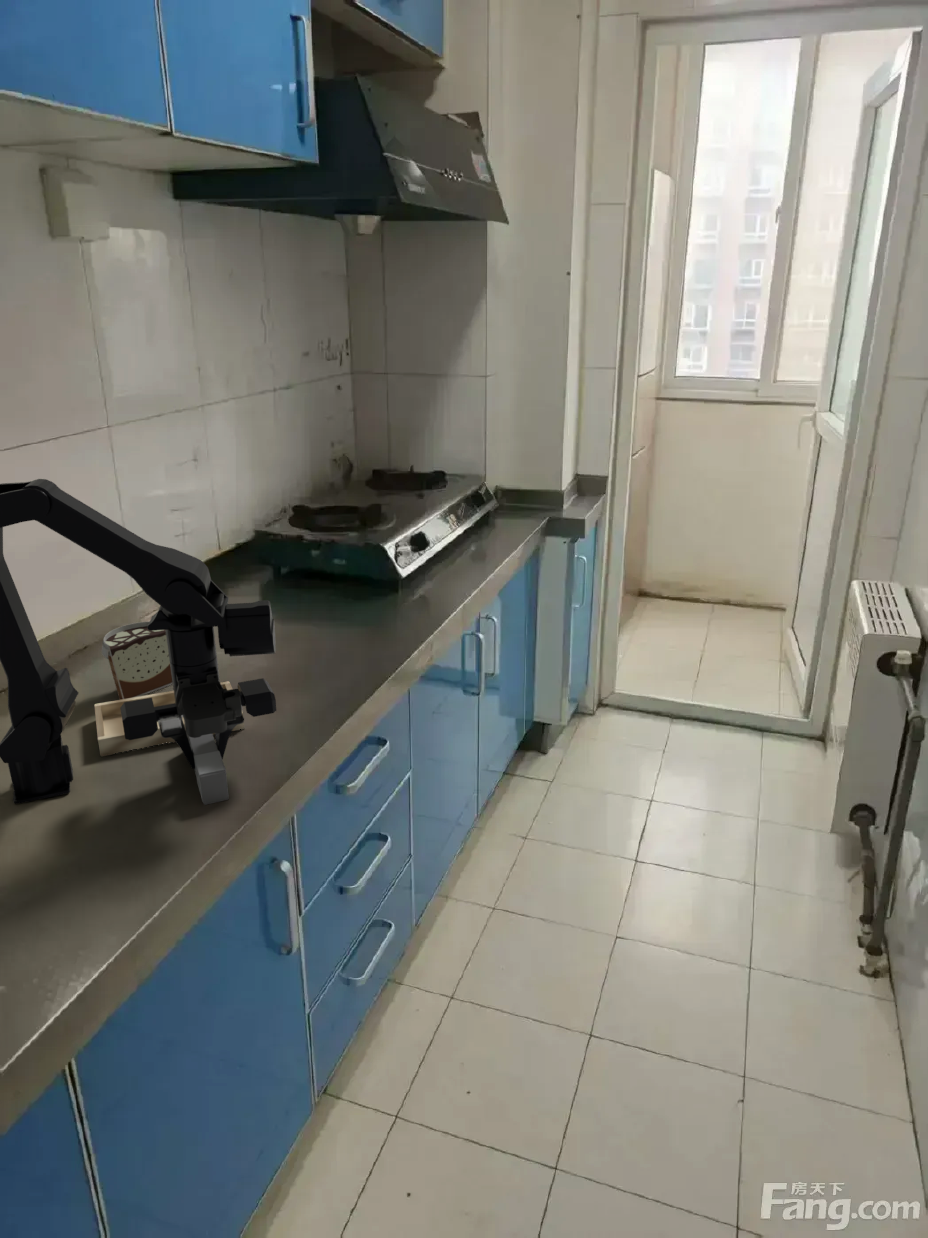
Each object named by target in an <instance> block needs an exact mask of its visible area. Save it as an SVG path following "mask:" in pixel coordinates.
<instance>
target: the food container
mask: <svg viewBox="0 0 928 1238" xmlns="http://www.w3.org/2000/svg"><path fill="white" fill-rule="evenodd" d="M149 622H150V620H149V621H138V622H132V623H129V624H124V625H122V626H119V627H117V628H114V629H111V630H110V631H109V632H107V633H106V634H105V635H104V637H103V640H102V643H101V645H102V646H101V655H102V656H103V657H104V658H105V659H106V660H108V663H109V666H110V670H111V674H112V676H113V682H114V685H115V689H116V692H117V694H118V698H119V699H118V700H122V699H128V698H133V697H139V696H145V695H149V694H152V693H153V692H156V691H159V690H161V689H163V688H167V687H168V686H171V685H172V686H173V682H172V675H171V667H170V660H169V653H168V645H167V638H166V630H153V631H150V630H148V628H147V626H148V624H149Z"/></svg>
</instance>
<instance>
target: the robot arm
mask: <svg viewBox="0 0 928 1238" xmlns="http://www.w3.org/2000/svg"><path fill="white" fill-rule="evenodd" d="M30 521H36V522H38V523H39V524H41V525H43V526H45V527H46V528H48V529H50V530H51V531H53V532H55V533H57V534H59V535H60V536H62V537H63V538H66V540H69V541H70V542H73V543H74V544H76V545H77V546H79V547H81V548H83V549H84V550H86V551H88V552H89V553H91V554H93V555H94V556H97V557H98V558H99V559H101V560H104V561H105V562H106V563H108V564H110V565H112V566H113V567H114V568H117V569H118V570H121V571H122V572H124V573H125V574H127V575H128V576H129V577H130V578H131V579H132V580H134V581H135V583H136V584H137V585H138V586H139V587H140V588H141V589H142V591H143V592H144V593H145V595H147V596H148V597H149V598H150V599H152V601H154V602H155V603H157V604H158V605H159V607H158V610H157V611H156V612H155V613H154V614H153V615H152V616H151V617H150V620H149V621H150V622H149V624H148V626H147V628H148V630H150V631H153V630H166V638H167V645H168V653H169V660H170V667H171V675H172V682H173V684H172V687H173V688H172V689H173V690H172V691H174V697H175V703H174V704H168V705H163V706H157V707H154V704H153V700H152V698H146V699H140V700H134V701H129V702H124V703H123V705H122V706H121V707H120V709H121V715H122V722H123V728H124V734H125V739H128V740H134V739H139V738H144V737H150V736H153V735H154V733H155V732H156V731H157V730H158V725H157V722H158V724H159V727H160V732H161V736H162V737H163V738H172V739H173V740H175V742H174V743H176V744H177V745H178V747H179V748H180V749H181V752H182V753H183V755H184V756H185V758H186V760H187V762H188V764H189V766H190V767H191V769H192V770H194V769H195V762H194V757H193V753H192V750H191V746H190V743H189V740H188V736H189V737H192V738H197V737H201V736H202V735H207V734H212V733H215V735H214V737H215V738H214V740H215V743H216V746H217V749H218V751H219V752H220V755H221V757H222V760H223V759H224V756H225V753H226V749H227V746H228V745H227V744H228V741H229V738H230V735H231V733H232V732H233V731H232V729H233V728H234V727H235V726H236V725H238V724H242V723H243V722H244V723H245V717H244V714H243V715H242V712H243V707H245V711H246V713H247V714H248V715H250V716H251V717H253V718H254V717H260V716H265V715H270V714H271V715H272V714H274V713H275V712H277V701H276V695H275V693H274V690H273V689H272V687H271V685H270V683H269V682H268V681H267V680H266V679H265V678H257V679H252V680H246V681H240V682H238V683H237V688H232V690H227V689H223V687H222V685H221V681H220V671H219V666H218V665H219V664H218V655H217V646H216V644H217V643H216V638H215V637H216V635H215V627H217V634H218V636H217V637H218V645H219V648H220V650H223V652H224V654H225V655H229V657H244V656H260V655H274V654H276V645H277V644H276V627H275V618H273V612H272V608H271V601H270V600H268V599H265V600H257V601H255V602H240V603H237V602H236V603H229V600H230V598H229V596H228V595H227V594H226V593H225V592H224V591H223V590H222V589H221V588H220V587H219V586H218V585H217V584H216V583H215V582H214V581H213V580H212V578H211V573H210V570H209V567H208V566H207V565H206V564H205V562H203V561H202V559H199V558H197V557H195V556H193V555H190V554H188V553H185V552H183V551H180V550H178V549H175V548H173V547H169V546H163V545H159V544H155V543H152V542H150V541H148V540H146V539H144V538H143V537H140V536H139V535H137V534H135V533H134V532H132V531H130V530H129V529H127V528H126V527H124V526H123V525H121V524H119V523H117V522H116V521H114V520H112V519H110V518H109V517H108V516H106V515H104V514H103V513H101V512H99V511H98V510H96V509H94V508H92V507H91V506H89V505H87V504H86V503H84V502H82V501H81V500H80V499H78V498H76V497H74V496H73V495H71V494H69V493H67V492H65V490H63V489H61V488H60V487H59V486H58V485H57V484H56V483H55V482H53V481H51V480H48V479H45V478H38V479H34V480H32V481H31V480H30V481H25V482H24V481H23V482H22V481H21V482H7V483H0V663H1V666H2V668H3V670H4V673H5V675H6V679H7V707H8V708H7V709H8V713H9V718H10V723H11V726H10V727H9V729H8V730H7V732H6V734H5V735H4V736H3V738H2V740H0V759H1V761H2V762H3V763H4V764H7V765H8V771H9V775H10V781H11V784H12V788H13V793H12V794H13V796H12V800H13V802H12V803H13V804H15V805H19V804H23V803H28V802H33V801H36V800H38V801H39V800H43V799H48V798H51V797H57V796H61V795H63V796H64V795H67V794H69V793H70V792H71V783H72V782H73V781H74V770H73V764H72V760H71V754H70V749H69V745H67V744H63V739H62V738H63V737H62V733H63V731H64V730H65V727H66V726H67V723H68V722H69V720H70V718H71V716H72V714H73V712H74V711H75V708H76V699H77V697H78V695H79V691H77V689H76V688H75V687H74V685H73V684H72V681H71V676H70V671H69V669H68V668H67V667H64V668H61V669H58V670H56V669H55V668H54V667H52V665H50V664H49V663H48V661H47V660H46V658H45V656H44V654H43V651H42V649H41V647H40V644H39V641H38V639H37V637H36V634H35V632H34V629H33V627H32V625H31V622H30V619H29V617H28V614H27V612H26V610H25V607H24V606H25V605H24V604H23V602H22V599H21V597H20V594H19V591H18V589H17V586H16V584H15V582H14V579H13V577H12V575H11V571H10V569H9V566H8V564H7V562H6V560H5V556H4V528H5V527H10V526H12V525H13V526H14V525H15V524H20V523H26V522H30ZM182 717H183V718H184V722H185V727H186V730H185V727H184V723H183V720H182ZM186 732H187V733H186ZM187 735H188V736H187ZM223 761H224V760H223Z"/></svg>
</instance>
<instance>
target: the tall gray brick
mask: <svg viewBox="0 0 928 1238" xmlns="http://www.w3.org/2000/svg"><path fill="white" fill-rule="evenodd" d="M186 733H187V732H186ZM187 736H188V735H187ZM214 737H215V736H214V735H213V734H207V735H202V736H201V737H197V738H192V737H189V736H188V740H189V743H190V746H191V750H192V753H193V757H194V762H195V769H193V770H194V773H195V776H196V777H195V778H196V784H197V786H198V791H199V794H200V796H201V797H200V798H201V801H202V803H203V806H205V805H210V804H214V803H219V802H223V801H228V800H229V799H230V798H229V797H230V796H229V795H230V794H229V787H228V779H227V769H226V766H225V763H224V760H222V757H221V755H220V752H219V751H218V749H217V746H216V741H215V738H214Z"/></svg>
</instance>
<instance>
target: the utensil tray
mask: <svg viewBox="0 0 928 1238" xmlns="http://www.w3.org/2000/svg"><path fill="white" fill-rule="evenodd" d="M220 683H221V685H222V687H223V689H227V690H232V689H233V687H232V685H231V683H230V681H228V680H227V681H223V682H222V681H220ZM146 698H152V700H153V704H154V707H157V706H163V705H168V704H174V703H175V697H174V690H170V691H164V692H157V693H153V694H152V693H150V694H145V695H143V696H139V697H133V698H128V699H122V700H120V699H117V700H112V701H111V700H110V701H105V702H99V703H95V704H94V713H95V714H94V715H95V723H96V733H97V734H96V735H97V742H98V743H97V744H98V749H99V754H100V757H106V756H111V755H116V754H119V753H118V752H122V753H125V752H124V751H127V752H129V751H128V750H131V749H137V750H140V749H139V748H142V749H145V748H144V747H147V748H149V747H148V746H153V745H158V744H162V743H166V742H167V743H168V744H170V743H169V742H173V743H176V742H175V740H173V739H172V738H163V737H162V736H161V732H160V727H159V724H158V722H157V725H158V730H157V731H156V732H155V733H154V735H153V736H150V737H144V738H139V739H134V740H128V739H125V734H124V728H123V722H122V715H121V709H120V707H121V706H122V705H123V703H124V702H129V701H134V700H140V699H146ZM242 715H243V716H244V712H243V711H242ZM182 720H183V723H184V727H185V722H184V718H183V717H182ZM240 729H241V730H244V729H245V721H244V722H243V723H242V724H238V725H236V726H235V727H234V728H233V729H232V731H231V732H234V731H235V732H236V731H241V730H240ZM185 730H186V727H185ZM212 734H213V736H215V733H212ZM158 746H159V745H158ZM153 747H154V746H153ZM115 753H116V754H115Z"/></svg>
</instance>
